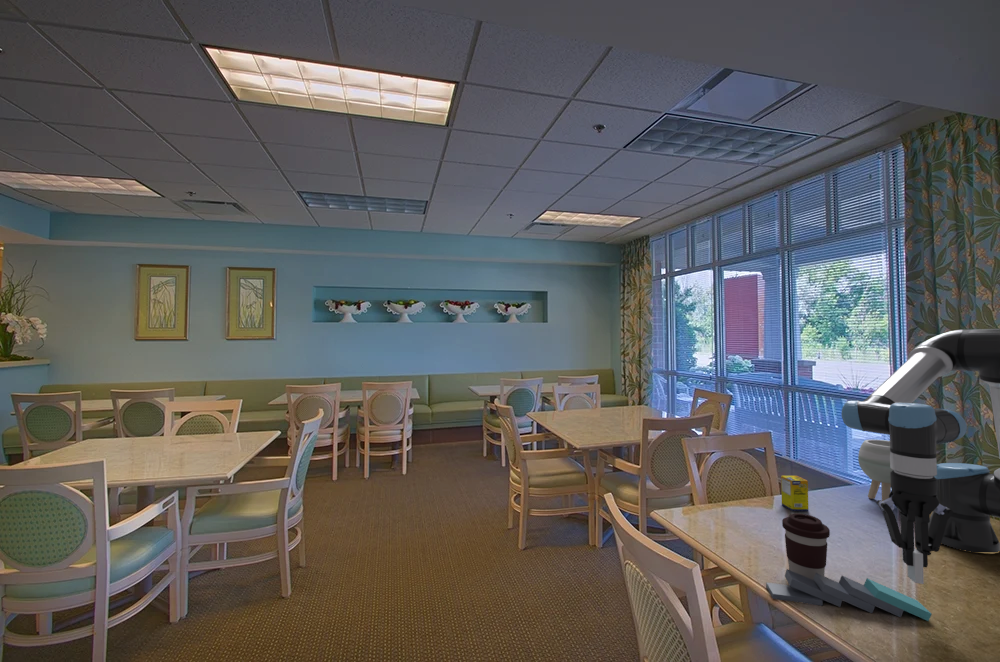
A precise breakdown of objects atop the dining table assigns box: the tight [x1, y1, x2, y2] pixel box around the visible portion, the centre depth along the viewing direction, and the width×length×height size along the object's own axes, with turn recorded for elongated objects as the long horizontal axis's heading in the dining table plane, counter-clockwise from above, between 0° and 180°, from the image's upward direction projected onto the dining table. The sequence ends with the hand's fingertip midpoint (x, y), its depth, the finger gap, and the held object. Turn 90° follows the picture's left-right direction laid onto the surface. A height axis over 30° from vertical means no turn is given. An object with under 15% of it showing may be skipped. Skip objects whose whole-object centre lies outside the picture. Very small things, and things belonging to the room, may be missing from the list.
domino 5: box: [863, 578, 932, 622], centre depth 96 cm, size 2×5×10 cm
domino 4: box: [838, 575, 905, 618], centre depth 98 cm, size 2×5×10 cm
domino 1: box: [765, 581, 824, 607], centre depth 102 cm, size 2×5×10 cm
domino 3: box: [813, 573, 876, 614], centre depth 99 cm, size 2×5×10 cm
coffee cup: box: [781, 512, 831, 579], centre depth 110 cm, size 10×10×15 cm
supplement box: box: [780, 475, 809, 512], centre depth 155 cm, size 6×6×11 cm
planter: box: [857, 439, 893, 501], centre depth 158 cm, size 16×16×22 cm
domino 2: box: [784, 568, 843, 608], centre depth 101 cm, size 2×5×10 cm
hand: (915, 580), depth 95 cm, fingers closed
